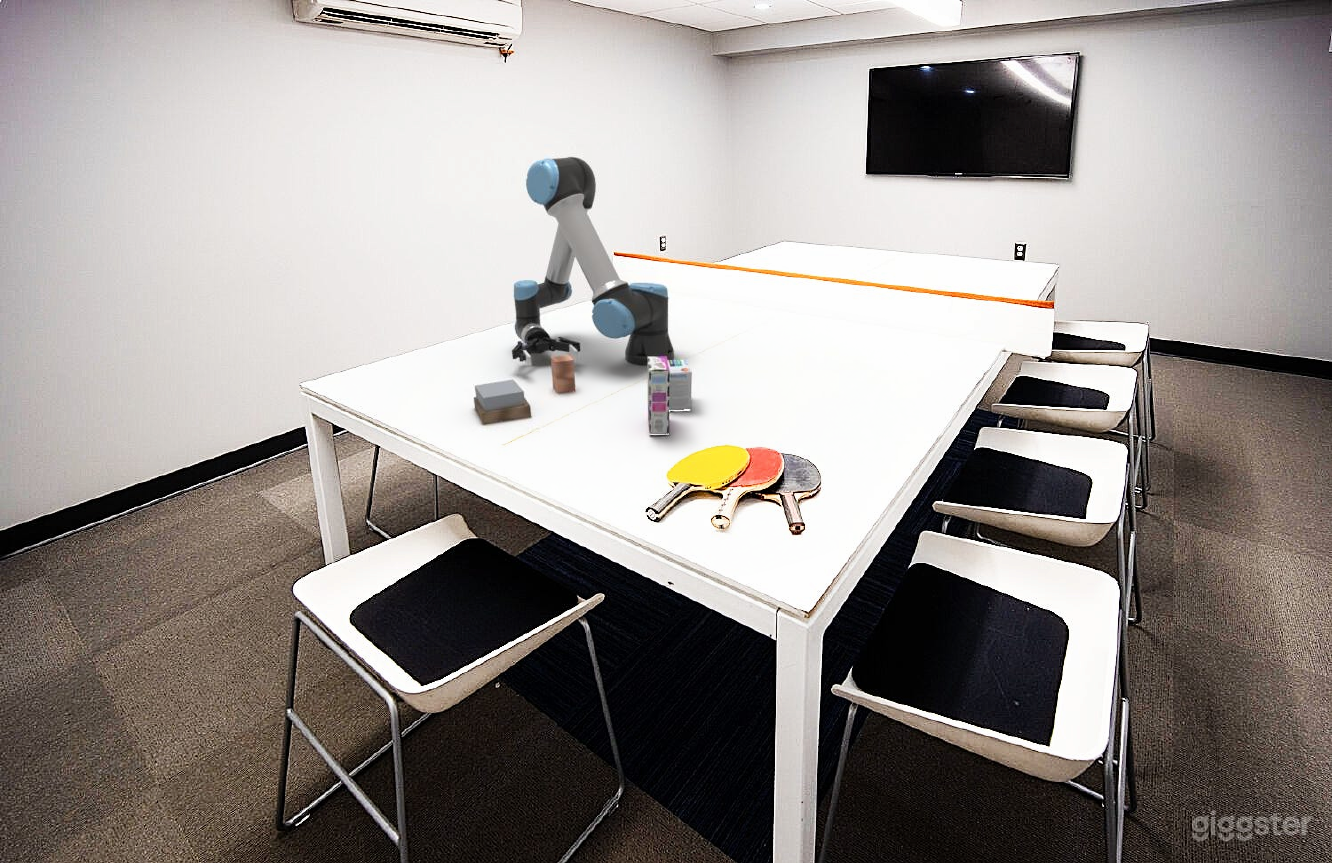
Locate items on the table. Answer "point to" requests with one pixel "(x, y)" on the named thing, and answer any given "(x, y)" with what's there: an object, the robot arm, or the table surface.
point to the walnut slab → (503, 413)
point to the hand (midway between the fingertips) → (553, 358)
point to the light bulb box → (680, 384)
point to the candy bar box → (658, 394)
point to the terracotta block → (563, 374)
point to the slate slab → (499, 395)
